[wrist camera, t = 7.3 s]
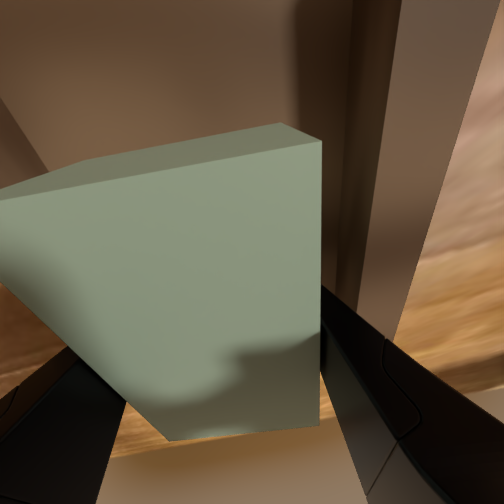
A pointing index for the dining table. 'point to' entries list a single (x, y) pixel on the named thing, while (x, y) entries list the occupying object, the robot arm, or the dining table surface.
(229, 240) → the pale green block
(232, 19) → the brown wooden stand
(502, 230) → the dining table surface
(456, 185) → the dining table surface
